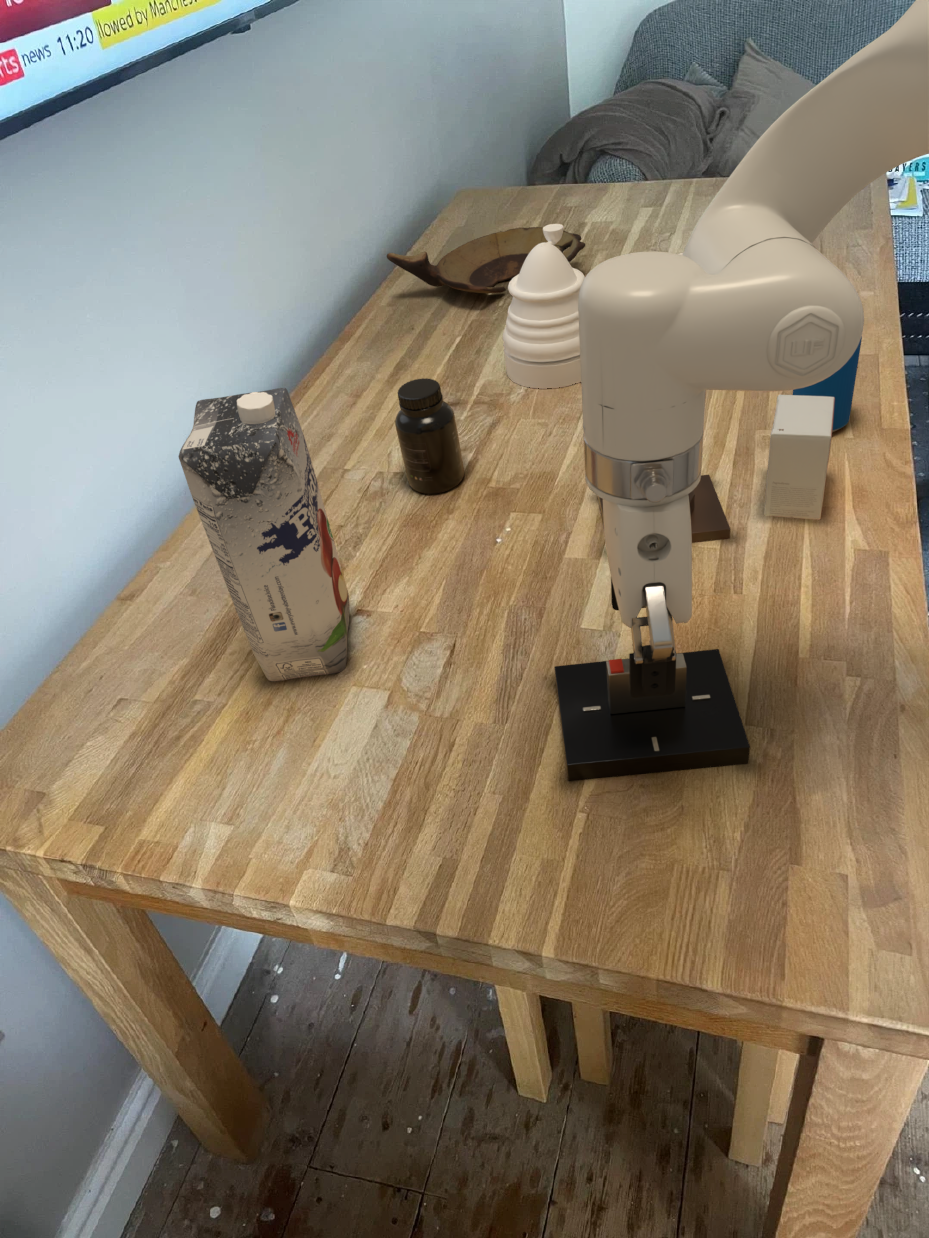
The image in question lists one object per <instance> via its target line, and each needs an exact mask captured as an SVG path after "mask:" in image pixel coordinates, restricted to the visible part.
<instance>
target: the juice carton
mask: <svg viewBox="0 0 929 1238" xmlns="http://www.w3.org/2000/svg"><path fill="white" fill-rule="evenodd" d="M178 459H179V463H180V465H181V469H182V471H183V475H184V477H185V481H186V484H187V486H188V490H189V493H190V495H191V498H192V500H193V503H194V506H195V508H196V511H197V514H198V516H199V519H200V521H201V525H202V527H203V529H204V532H205V534H206V537H207V539H208V542H209V545H210V547H211V549H212V552H213V555H214V558H215V560H216V562H217V563H216V564H217V565H218V567H219V570H220V572H221V576H222V578H223V580H224V583H225V585H226V588H227V590H228V594H229V596H230V598H231V601H232V604H233V606H234V608H235V612H236V614H237V616H238V619H239V621H240V624H241V627H242V629H243V632H244V635H245V636H246V639H247V641H248V644H249V646H250V649H251V651H252V654H253V655H254V658H255V659H256V662H257V664H258V665H259V667H260V669H261V670H262V672H263V674H264V676H265V678H266V679H267V680H268V681H270V682H281V681H286V680H293V679H299V678H306V677H314V676H315V677H316V676H325V675H334V674H339V673H342V672H343V671H345V669H346V667H347V661H348V660H347V659H348V633H349V626H350V594H349V591H348V587H347V586H348V585H347V583H346V579H345V575H344V572H343V569H342V568H343V567H342V565H341V561H340V557H339V553H338V551H337V550H338V549H337V547H336V543H335V540H334V536H333V532H332V529H331V525H330V522H329V519H328V514H327V511H326V507H325V505H324V501H323V498H322V494H321V490H320V487H319V483H318V479H317V475H316V472H315V469H314V465H313V462H312V459H311V455H310V452H309V448H308V444H307V441H306V438H305V435H304V432H303V429H302V426H301V423H300V420H299V418H298V416H297V414H296V410H295V407H294V404H293V402H292V399H291V396H290V394H289V391H288V389H287V388H286V387H278V388H273V389H272V388H271V389H267V390H262V391H252V392H247V393H239V394H233V395H227V396H221V397H214V398H213V397H211V398H204V399H200V400H196V403H195V408H194V415H193V425H192V429H191V431H190V433H189V434H188V436H187V438H186V439H185V441H184V443H183V444H182V446H181V447H180V450H179V453H178Z"/></svg>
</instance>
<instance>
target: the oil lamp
mask: <svg viewBox="0 0 929 1238" xmlns="http://www.w3.org/2000/svg"><path fill="white" fill-rule="evenodd" d="M543 227H544V226H543ZM543 227H541V226H536V227H535V226H530V227H515V228H510V229H509V228H508V229H507V230H504V231H503V230H502V231H501V230H500V231H496V232H492V233H489V234H486V235H482V236H479V237H477V238H475V239H473V240H470V241H467V242H465V243H463V244H462V245H460V246H458V247H456V248H454V249H453V250H451V251H449V252H448V253H446V254H445V255H444V256H443V257H441V259H440V260H439V261H438V263H437V264H436V265H434V264H432V263H431V262H430V259H429V255H428V252H427V251H422V252H420V253H417V254H415V255H403V254H398V253H394V252H388V253H387V254H386V259H387V260H388V261H389V262H390V263H392V264H394V265H396V266H397V267H399V268H400V269H402V270H404V271H406V272H407V273H410V274H411V275H413V276H414V277H417V278H418V279H419V280H421V281H422V282H423V283H425V284H428V286H431V287H435V288H439V287H440V288H441V287H444V286H448V287H449V288H451V289H455V290H458V291H462V292H469V293H477V294H500V293H504V292H506V291H507V289H506V288H505V286H496V287H495V285H496V284H497V283H500V282H504V281H508V280H512V279H513V278H514V277H515V276H517V275H518V274H519V273H520V270H521V268H522V266H523V263H524V261H525V259H526V257H527V256H528V254H529V253H530V251H531V250H532V249H533V248H534V247H535V246H536V245H538V244H540V243H544V242H548V241H547V240H546V238H545V236H544V233H543ZM581 240H582V236H581V234H578V233H571V232H569V231H566V230H563V234H562V237H561V239H560V240H559V241H558V242H557V243H556V244H555V245H554V246H555V247H557V248H558V249H559V250H560V251H561V252H562V253H563V255H564V256H565V257H566V259H567V260H568V262H569V263H570V262H572V261H573V260H574V259H575V258H576V257H577V255H578V253H579V252H580V251H582V250H583V249H584V248H585V247H586V243H585V242H583V241H581Z"/></svg>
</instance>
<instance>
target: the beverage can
mask: <svg viewBox="0 0 929 1238" xmlns="http://www.w3.org/2000/svg"><path fill="white" fill-rule="evenodd" d="M862 339H863V335H862V336H861V340H860V342H859V344H858V347H857V348H856V350H855V352H854V353H853V355H852V356H851V358H850V359H849V360H848V361H847V363H846V364H845V365H844V366H843V367H841V368H840V369H839V370H838V371H837V372H835V373H834V374H833V375H831V376H830V377H828V378H826V379H824V380H823V381H820V382H818V383H816V384H813V385H811V386H807V387H804V388H799V389H794V390H792V395H802V396H827V397H835V402H834V417H833V430H832V433H835V432H837V431H838V430H840V429H842V428H844V427H845V426H846V425H847V424H849V422H850V418H851V411H852V405H853V399H854V391H855V386H856V385H855V384H856V378H857V373H858V365H859V359H860V353H861V346H862Z"/></svg>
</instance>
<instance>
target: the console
mask: <svg viewBox="0 0 929 1238" xmlns="http://www.w3.org/2000/svg"><path fill="white" fill-rule="evenodd" d="M680 653H681V652H676V654H680ZM682 653H683V656H684V660H685V663H686V667H687V669H686V702H685V707H677V708H667V709H657V710H648V711H638V712H628V713H618V714H610V709H609V703H608V690H607V669H606V661H607V660H602V661H592V662H591V661H590V662H584V663H573V664H564V665H555V666H554V677H555V678H554V680H555V686H556V694H557V695H556V696H557V701H558V702H557V703H558V711H559V718H560V727H561V735H562V744H563V751H564V757H565V759H564V760H565V766H566V767H565V768H566V775H567V782H575V781H576V782H577V781H585V780H596V779H606V778H607V779H608V778H618V777H628V776H638V775H648V774H649V775H650V774H659V773H668V772H679V771H680V772H681V771H690V770H700V769H708V768H709V769H710V768H711V769H712V768H722V767H731V766H741V765H749V764H750V763H749V761H750V754H751V753H750V752H751V751H750V750H751V745H750V741H749V740H748V735H747V733H746V730H745V726H744V723H743V719H742V717H741V715H740V711H739V708H738V705H737V702H736V699H735V696H734V693H733V692H734V691H733V689H732V687H731V684H730V680H729V677H728V673H727V670H726V668H725V665H724V664H725V663H724V661H723V657H722V656H721V651H720V649H719V648H714V649H705V650H696V651H687V652H686V651H685V652H682ZM621 659H622V660H623V659H624V658H621Z"/></svg>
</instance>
